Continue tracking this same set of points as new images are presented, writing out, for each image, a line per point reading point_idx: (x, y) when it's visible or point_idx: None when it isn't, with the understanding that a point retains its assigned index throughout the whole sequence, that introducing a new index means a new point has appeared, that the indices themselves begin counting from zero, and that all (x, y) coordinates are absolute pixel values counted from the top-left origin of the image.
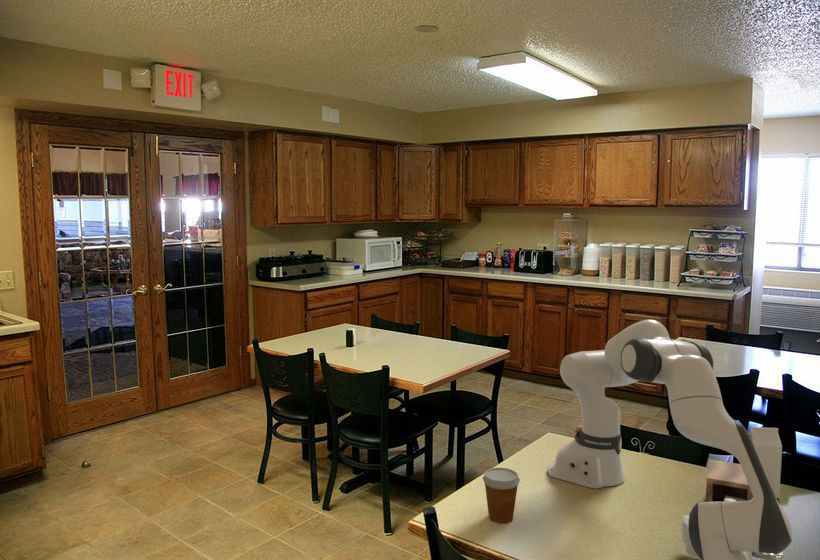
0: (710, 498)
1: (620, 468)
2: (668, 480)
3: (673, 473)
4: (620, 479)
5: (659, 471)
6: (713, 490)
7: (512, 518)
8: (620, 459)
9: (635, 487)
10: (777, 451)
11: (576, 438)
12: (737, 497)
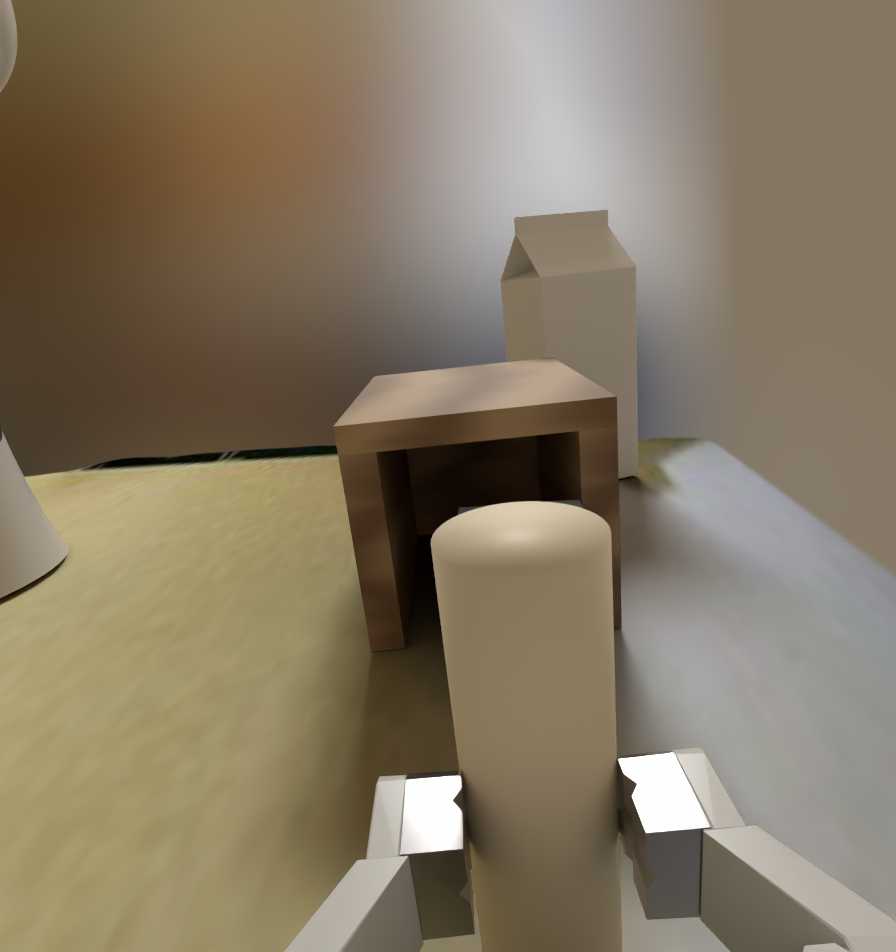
0: (380, 550)
1: (5, 523)
2: (260, 519)
3: (292, 491)
4: (8, 574)
5: (244, 498)
6: (414, 507)
7: None
8: (6, 482)
9: (80, 591)
10: (622, 289)
11: None
12: None
